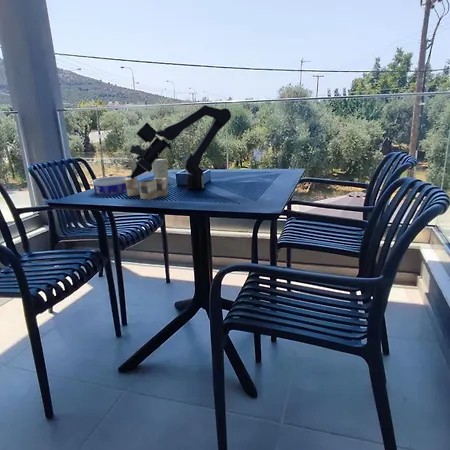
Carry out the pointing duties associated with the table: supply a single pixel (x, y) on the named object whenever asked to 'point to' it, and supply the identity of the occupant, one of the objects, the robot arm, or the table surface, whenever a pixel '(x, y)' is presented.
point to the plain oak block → (132, 186)
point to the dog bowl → (110, 185)
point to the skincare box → (160, 169)
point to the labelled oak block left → (161, 186)
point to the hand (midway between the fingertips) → (131, 177)
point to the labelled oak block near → (148, 189)
